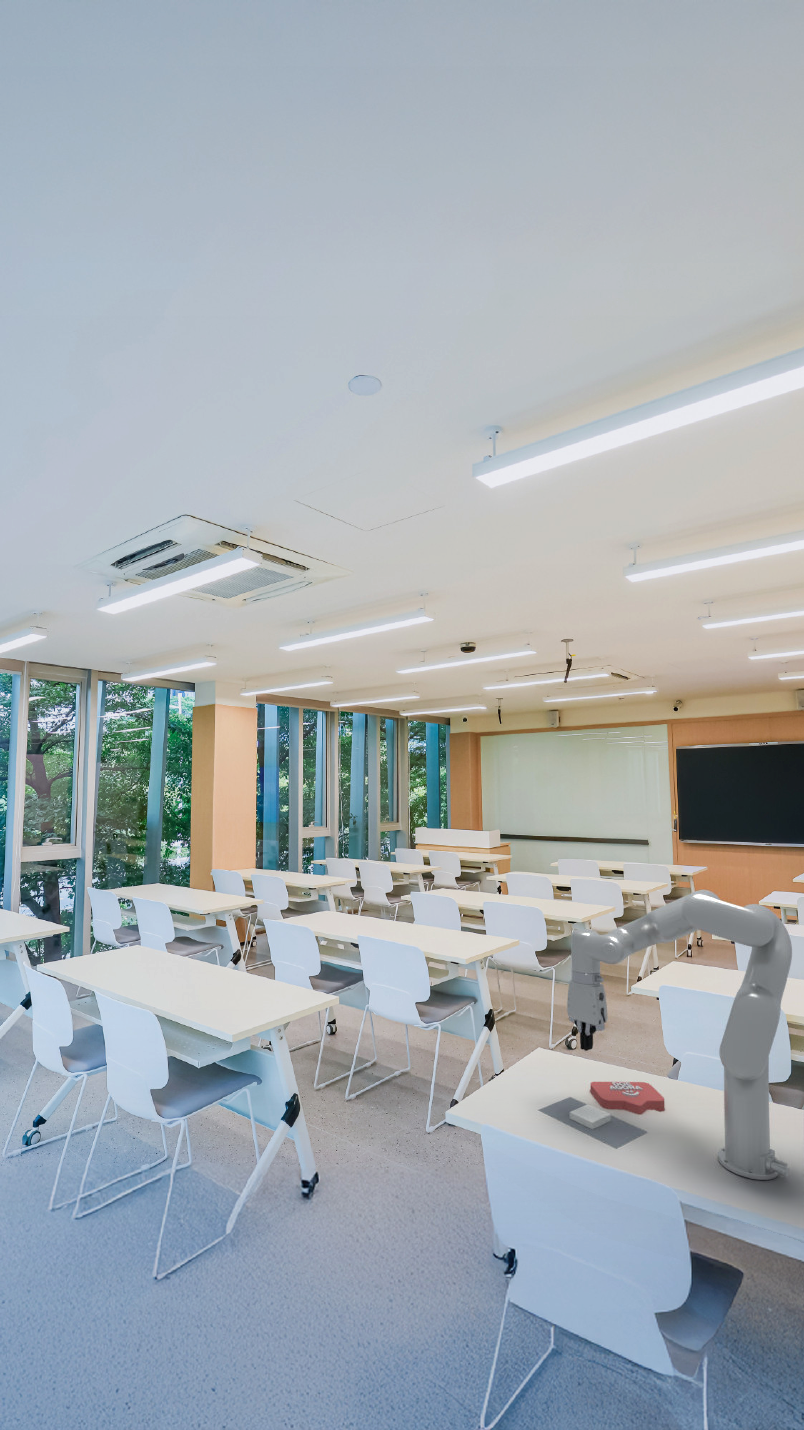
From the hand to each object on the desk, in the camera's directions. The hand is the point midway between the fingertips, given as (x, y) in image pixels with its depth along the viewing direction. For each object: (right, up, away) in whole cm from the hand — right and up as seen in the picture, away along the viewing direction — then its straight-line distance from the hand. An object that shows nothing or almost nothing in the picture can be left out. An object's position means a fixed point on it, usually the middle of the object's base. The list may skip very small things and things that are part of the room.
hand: (586, 1048), depth 179 cm
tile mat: (0, -18, -3) cm, 18 cm away
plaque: (+14, -20, +8) cm, 26 cm away
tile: (+2, -16, -6) cm, 17 cm away
